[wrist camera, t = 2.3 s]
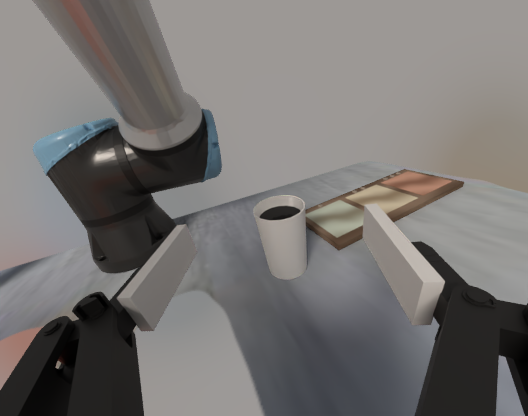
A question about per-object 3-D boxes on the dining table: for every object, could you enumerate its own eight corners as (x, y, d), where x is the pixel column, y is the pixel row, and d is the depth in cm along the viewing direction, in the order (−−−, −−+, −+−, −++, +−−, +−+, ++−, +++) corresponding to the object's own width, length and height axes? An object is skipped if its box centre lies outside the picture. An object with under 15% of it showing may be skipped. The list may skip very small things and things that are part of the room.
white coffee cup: (319, 260, 30) (316, 201, 25) (291, 290, 26) (281, 227, 22) (285, 244, 35) (276, 191, 30) (256, 268, 31) (242, 212, 26)
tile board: (295, 218, 41) (295, 213, 41) (403, 173, 51) (404, 168, 50) (338, 250, 31) (339, 244, 31) (462, 186, 41) (464, 181, 40)
